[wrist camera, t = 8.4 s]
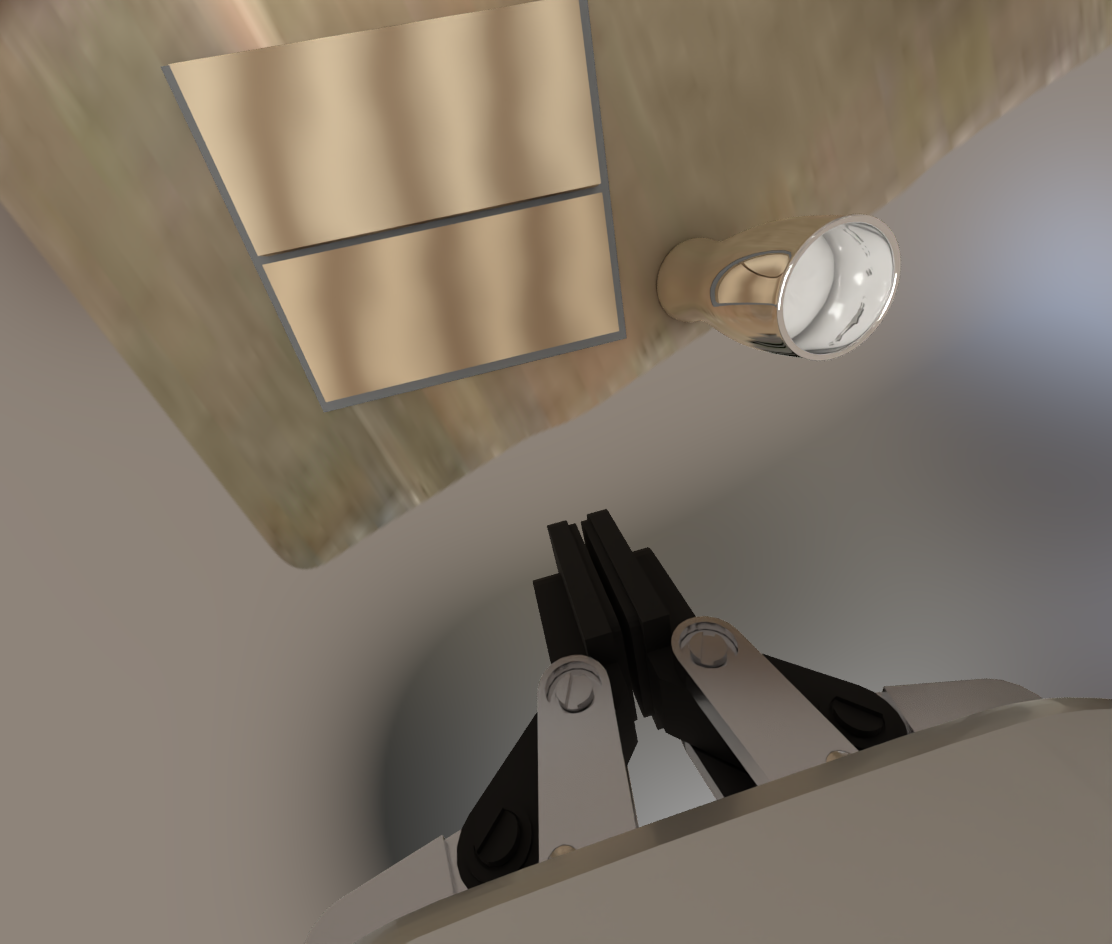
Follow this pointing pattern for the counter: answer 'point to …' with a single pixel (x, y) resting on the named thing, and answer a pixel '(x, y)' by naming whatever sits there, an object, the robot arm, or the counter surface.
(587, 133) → the board
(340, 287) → the loose plank
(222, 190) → the underlay mat
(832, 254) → the beer glass
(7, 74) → the counter surface
